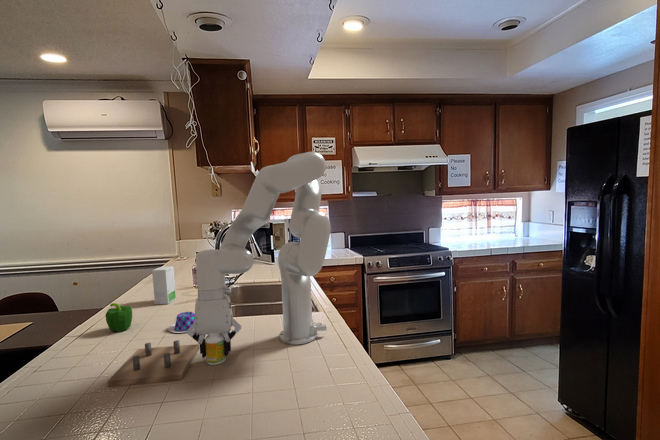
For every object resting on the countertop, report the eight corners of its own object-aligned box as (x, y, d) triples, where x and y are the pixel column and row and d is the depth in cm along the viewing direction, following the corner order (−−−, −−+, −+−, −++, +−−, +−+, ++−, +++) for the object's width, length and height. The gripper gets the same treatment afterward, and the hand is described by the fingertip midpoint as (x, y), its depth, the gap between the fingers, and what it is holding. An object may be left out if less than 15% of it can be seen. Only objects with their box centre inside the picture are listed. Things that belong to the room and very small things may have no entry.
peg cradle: (199, 348, 108) (198, 333, 108) (181, 379, 90) (180, 361, 90) (138, 353, 106) (137, 338, 105) (108, 386, 88) (106, 367, 88)
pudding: (188, 336, 119) (187, 321, 118) (160, 332, 122) (159, 318, 122) (210, 323, 130) (209, 309, 129) (184, 320, 134) (183, 307, 133)
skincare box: (168, 304, 153) (165, 269, 152) (153, 304, 153) (150, 270, 152) (176, 298, 161) (174, 265, 160) (162, 298, 161) (160, 266, 160)
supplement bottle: (220, 366, 97) (218, 332, 96) (202, 364, 98) (200, 331, 97) (229, 357, 102) (227, 325, 101) (212, 355, 103) (210, 324, 102)
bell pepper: (139, 325, 130) (136, 299, 129) (124, 334, 121) (121, 306, 121) (118, 324, 130) (115, 299, 130) (101, 334, 122) (99, 306, 121)
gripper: (244, 287, 103) (247, 346, 104) (184, 291, 101) (188, 351, 102) (241, 295, 95) (244, 358, 97) (176, 299, 93) (180, 363, 95)
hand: (215, 354), depth 100 cm, fingers open, 5 cm apart
